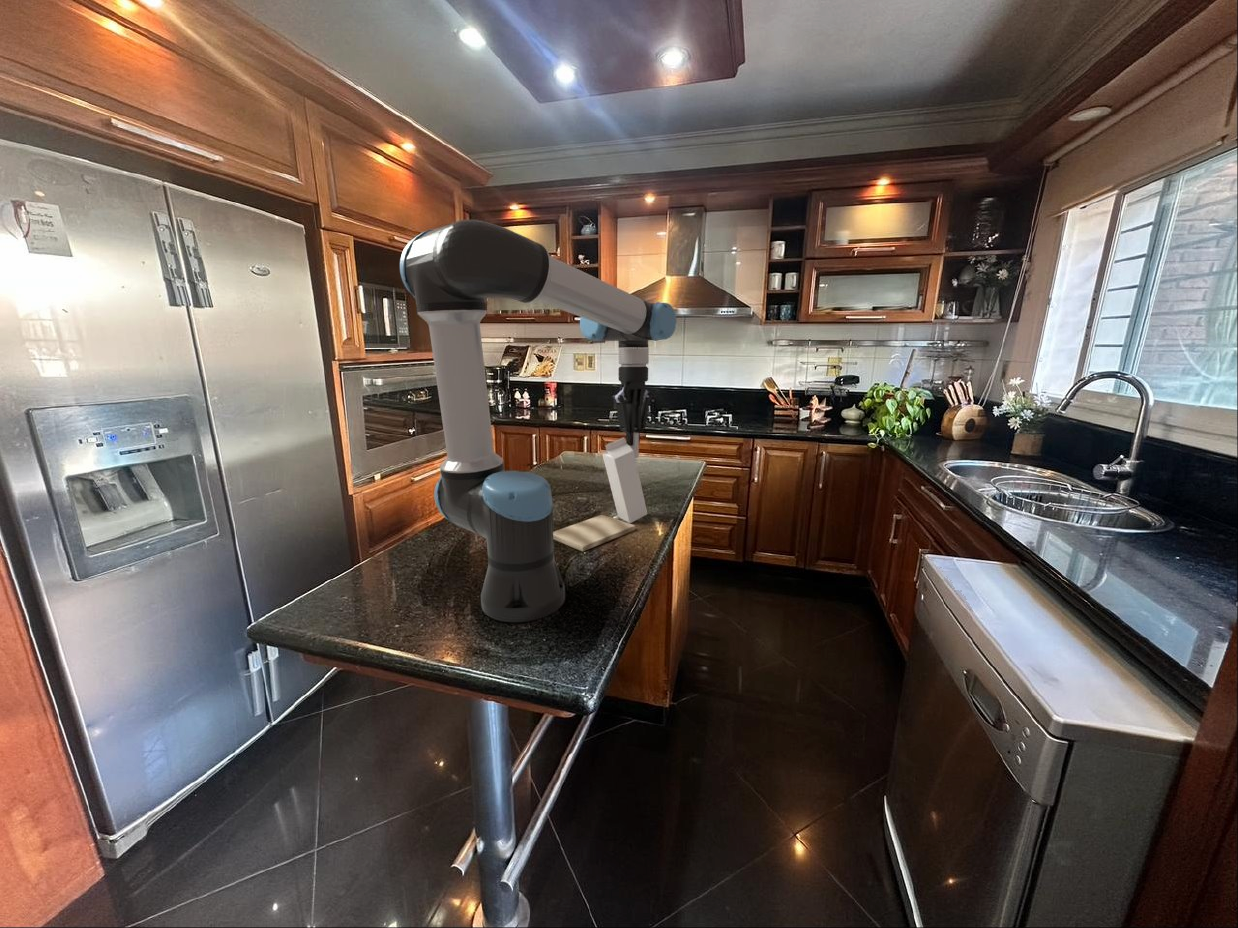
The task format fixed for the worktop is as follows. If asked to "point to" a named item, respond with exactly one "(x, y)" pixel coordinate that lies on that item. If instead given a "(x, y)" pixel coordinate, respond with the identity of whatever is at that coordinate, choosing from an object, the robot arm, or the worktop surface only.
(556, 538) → the board
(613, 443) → the white carton-shaped block
